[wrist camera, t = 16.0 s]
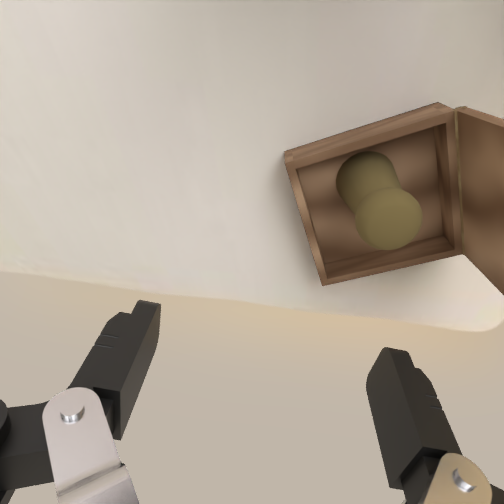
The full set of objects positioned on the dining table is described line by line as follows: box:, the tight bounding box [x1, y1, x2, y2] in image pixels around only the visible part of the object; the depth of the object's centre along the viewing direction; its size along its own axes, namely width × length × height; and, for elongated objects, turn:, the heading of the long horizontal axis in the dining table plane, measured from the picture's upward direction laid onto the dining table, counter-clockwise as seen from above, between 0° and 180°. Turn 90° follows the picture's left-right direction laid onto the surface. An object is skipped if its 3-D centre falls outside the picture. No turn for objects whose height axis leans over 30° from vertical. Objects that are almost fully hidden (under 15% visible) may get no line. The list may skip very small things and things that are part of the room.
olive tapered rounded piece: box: [336, 151, 423, 250], centre depth 33 cm, size 6×6×11 cm
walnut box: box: [285, 102, 463, 286], centre depth 38 cm, size 15×15×4 cm
